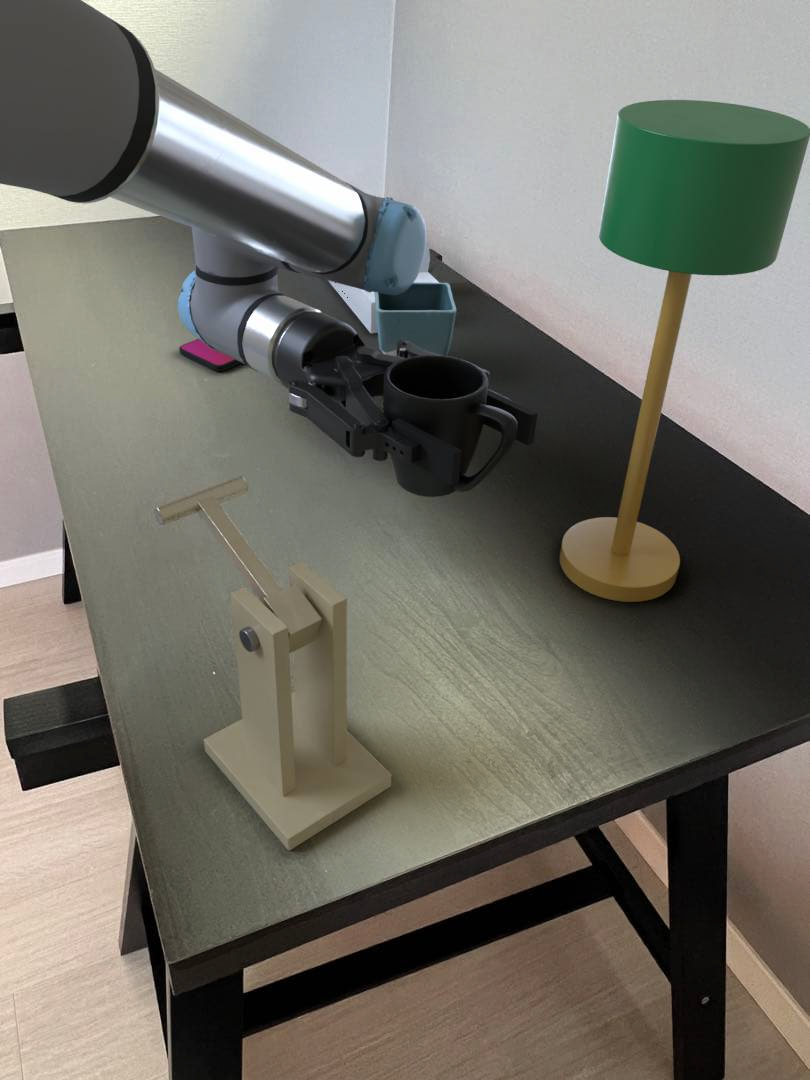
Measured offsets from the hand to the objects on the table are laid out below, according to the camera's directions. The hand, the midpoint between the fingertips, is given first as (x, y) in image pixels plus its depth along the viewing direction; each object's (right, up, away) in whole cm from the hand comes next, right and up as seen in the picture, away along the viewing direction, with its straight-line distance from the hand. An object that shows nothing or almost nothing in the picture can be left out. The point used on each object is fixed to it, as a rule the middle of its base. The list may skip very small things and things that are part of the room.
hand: (495, 447), depth 72 cm
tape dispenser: (-10, +25, +55) cm, 62 cm away
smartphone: (-26, +17, +42) cm, 52 cm away
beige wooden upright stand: (-14, -22, -10) cm, 28 cm away
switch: (-17, -9, -15) cm, 24 cm away
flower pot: (-6, +13, +39) cm, 41 cm away
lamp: (+11, -9, +9) cm, 17 cm away
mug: (-4, -3, +6) cm, 8 cm away
